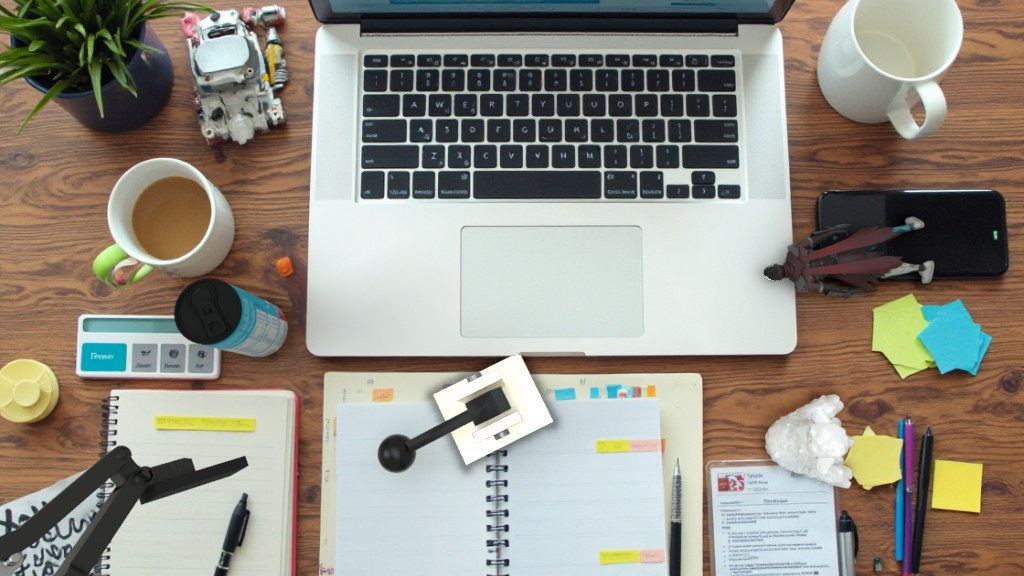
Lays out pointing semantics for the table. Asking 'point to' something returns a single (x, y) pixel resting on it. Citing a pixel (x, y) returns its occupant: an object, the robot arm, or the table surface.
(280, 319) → the beverage can
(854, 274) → the action figure
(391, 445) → the switch
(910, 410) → the table surface
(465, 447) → the white c-shaped piece
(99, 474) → the robot arm
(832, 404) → the sitting furry creature
